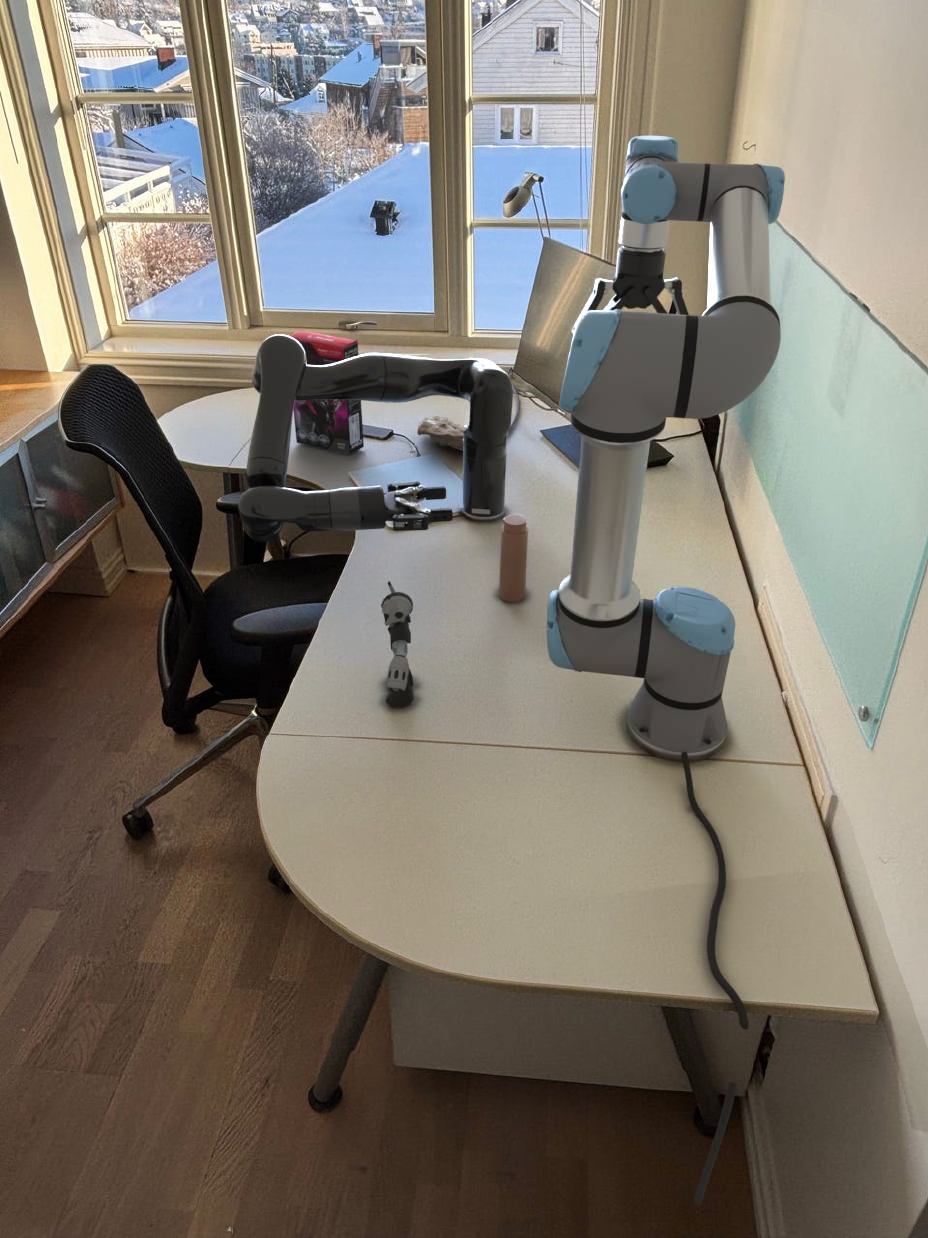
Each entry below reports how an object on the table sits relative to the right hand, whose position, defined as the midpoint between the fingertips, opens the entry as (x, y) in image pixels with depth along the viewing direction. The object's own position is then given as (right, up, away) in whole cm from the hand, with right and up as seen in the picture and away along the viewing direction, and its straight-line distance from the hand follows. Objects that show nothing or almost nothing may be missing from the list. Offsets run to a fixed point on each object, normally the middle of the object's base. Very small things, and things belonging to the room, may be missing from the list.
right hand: (627, 378), depth 157 cm
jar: (-19, -36, +19) cm, 45 cm away
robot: (-38, -53, -6) cm, 66 cm away
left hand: (-31, -20, +6) cm, 37 cm away
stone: (-30, +3, +77) cm, 83 cm away
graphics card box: (-62, +3, +76) cm, 98 cm away
